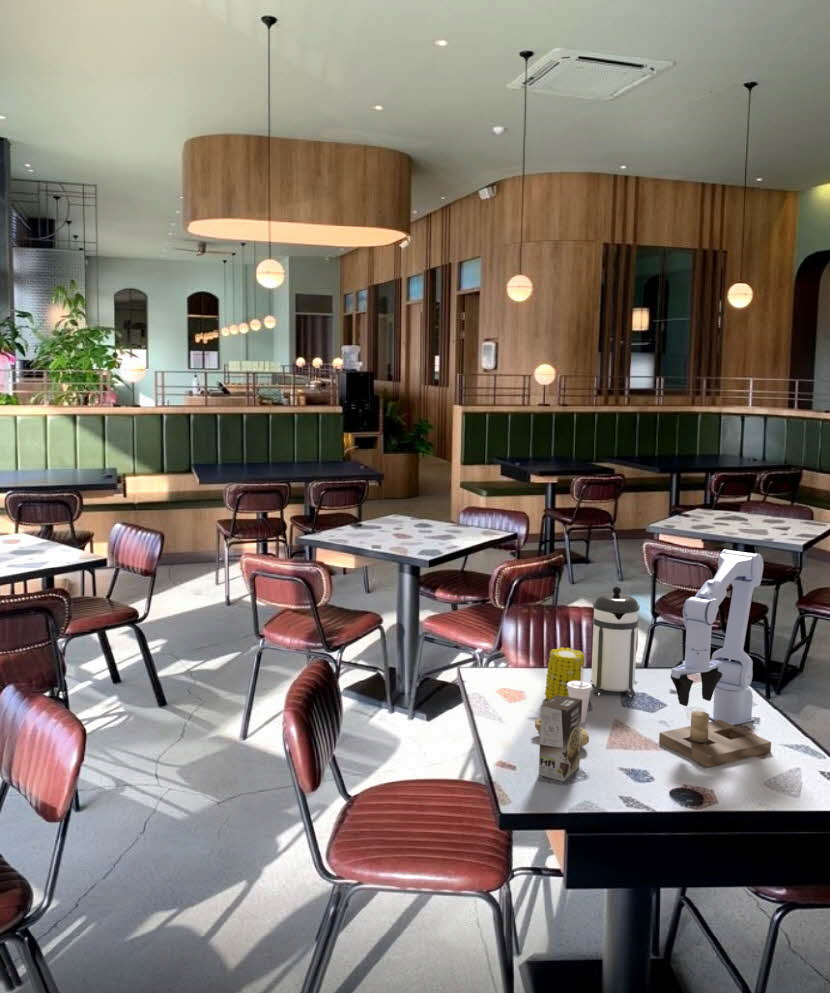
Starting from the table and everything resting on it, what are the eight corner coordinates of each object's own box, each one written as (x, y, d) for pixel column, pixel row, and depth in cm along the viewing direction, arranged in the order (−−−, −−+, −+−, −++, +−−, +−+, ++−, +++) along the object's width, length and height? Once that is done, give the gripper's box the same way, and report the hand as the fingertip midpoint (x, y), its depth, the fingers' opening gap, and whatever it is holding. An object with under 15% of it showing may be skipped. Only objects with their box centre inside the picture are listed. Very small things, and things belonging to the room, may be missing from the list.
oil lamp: (536, 731, 227) (537, 712, 226) (594, 740, 222) (594, 720, 221) (525, 747, 217) (526, 727, 216) (586, 756, 212) (586, 736, 211)
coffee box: (564, 782, 198) (567, 710, 196) (537, 775, 201) (539, 704, 199) (580, 767, 205) (583, 698, 203) (554, 761, 209) (556, 693, 207)
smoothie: (590, 726, 230) (592, 672, 229) (564, 724, 232) (566, 670, 230) (590, 717, 237) (592, 665, 235) (565, 715, 238) (567, 663, 236)
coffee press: (653, 692, 257) (658, 588, 253) (613, 703, 248) (618, 595, 244) (608, 675, 271) (612, 576, 267) (568, 685, 262) (572, 582, 258)
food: (561, 697, 256) (585, 710, 248) (530, 695, 250) (554, 708, 241) (574, 645, 255) (599, 656, 247) (543, 641, 249) (568, 652, 241)
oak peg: (698, 746, 219) (700, 710, 218) (710, 752, 215) (712, 715, 214) (685, 749, 217) (687, 712, 216) (697, 755, 214) (699, 718, 212)
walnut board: (719, 729, 230) (719, 719, 230) (770, 752, 216) (771, 742, 216) (659, 742, 221) (659, 732, 220) (708, 767, 207) (709, 756, 206)
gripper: (707, 639, 225) (704, 692, 226) (663, 646, 218) (660, 701, 220) (729, 646, 218) (726, 701, 220) (684, 654, 212) (681, 711, 213)
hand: (695, 702), depth 219 cm, fingers open, 7 cm apart
